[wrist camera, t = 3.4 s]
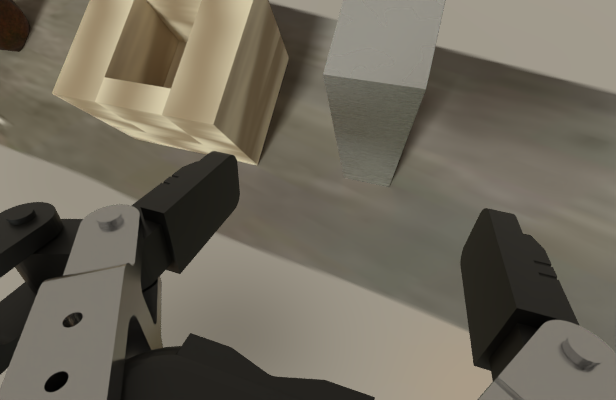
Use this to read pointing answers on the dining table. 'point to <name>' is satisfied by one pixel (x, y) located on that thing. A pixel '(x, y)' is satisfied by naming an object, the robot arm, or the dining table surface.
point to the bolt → (12, 26)
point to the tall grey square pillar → (379, 80)
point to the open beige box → (179, 72)
